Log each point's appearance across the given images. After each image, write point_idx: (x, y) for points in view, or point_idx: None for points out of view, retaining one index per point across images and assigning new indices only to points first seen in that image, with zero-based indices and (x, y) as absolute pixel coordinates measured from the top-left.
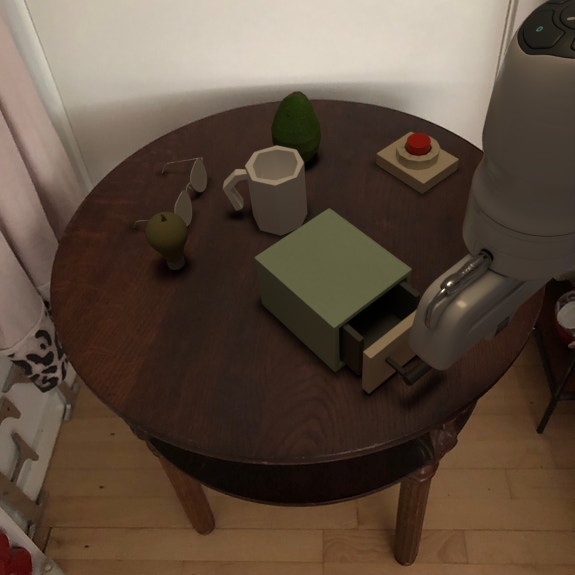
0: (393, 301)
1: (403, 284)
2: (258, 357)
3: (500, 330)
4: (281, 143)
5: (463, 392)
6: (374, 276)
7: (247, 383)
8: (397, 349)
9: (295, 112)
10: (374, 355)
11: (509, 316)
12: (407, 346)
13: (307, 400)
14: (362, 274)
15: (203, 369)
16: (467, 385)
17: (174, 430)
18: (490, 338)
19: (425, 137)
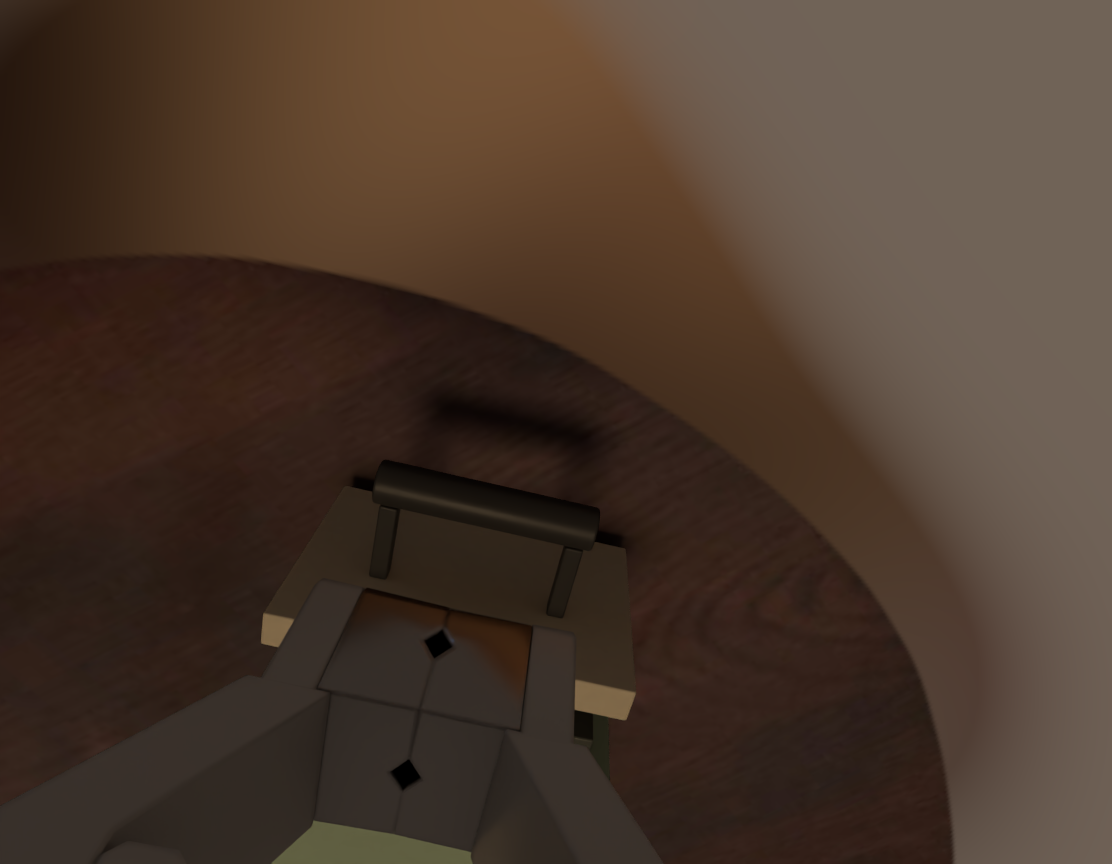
0: None
1: None
2: (673, 786)
3: (448, 627)
4: None
5: (443, 325)
6: (342, 828)
7: (752, 771)
8: (504, 604)
9: None
10: (617, 689)
11: (321, 699)
12: (459, 572)
13: (719, 649)
14: (362, 856)
15: (770, 853)
16: (413, 326)
17: (945, 824)
18: (573, 659)
19: None
